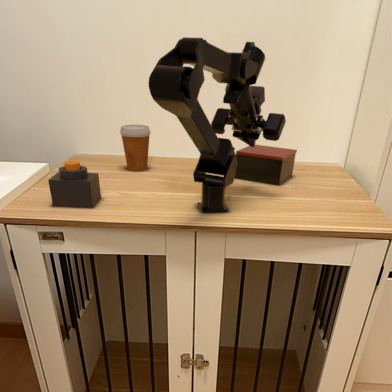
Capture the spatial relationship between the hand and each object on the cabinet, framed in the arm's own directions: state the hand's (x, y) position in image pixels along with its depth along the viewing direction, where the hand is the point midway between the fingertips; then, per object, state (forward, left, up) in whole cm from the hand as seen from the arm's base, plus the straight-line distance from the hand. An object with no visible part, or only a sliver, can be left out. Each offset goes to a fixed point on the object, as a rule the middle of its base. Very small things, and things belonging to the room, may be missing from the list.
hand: (253, 145), depth 113 cm
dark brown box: (+9, -8, -11) cm, 16 cm away
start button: (-9, +49, -3) cm, 50 cm away
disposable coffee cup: (+24, +31, -11) cm, 40 cm away
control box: (-9, +49, -11) cm, 51 cm away
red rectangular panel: (+9, -8, -4) cm, 13 cm away
